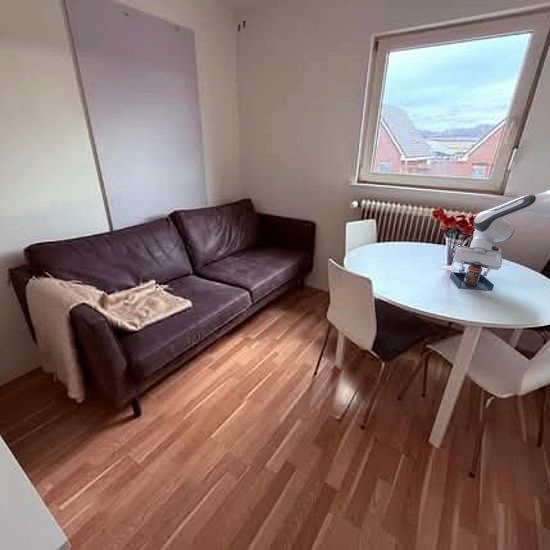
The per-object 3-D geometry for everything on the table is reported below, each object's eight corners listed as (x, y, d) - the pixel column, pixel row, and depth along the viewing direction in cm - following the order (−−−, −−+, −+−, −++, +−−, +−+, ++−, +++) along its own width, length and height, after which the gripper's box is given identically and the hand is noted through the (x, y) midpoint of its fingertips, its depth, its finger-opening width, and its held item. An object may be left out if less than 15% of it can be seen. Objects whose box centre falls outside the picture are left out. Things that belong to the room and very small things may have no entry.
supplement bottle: (462, 284, 154) (469, 263, 149) (463, 280, 159) (470, 259, 154) (476, 287, 151) (483, 266, 146) (477, 283, 156) (484, 262, 151)
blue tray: (491, 290, 149) (494, 284, 147) (458, 288, 150) (460, 282, 149) (473, 274, 166) (475, 268, 165) (444, 271, 168) (446, 266, 167)
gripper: (457, 241, 157) (450, 265, 154) (505, 249, 148) (499, 275, 144) (455, 247, 163) (449, 270, 159) (502, 255, 153) (496, 280, 150)
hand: (473, 273), depth 152 cm, fingers open, 8 cm apart
